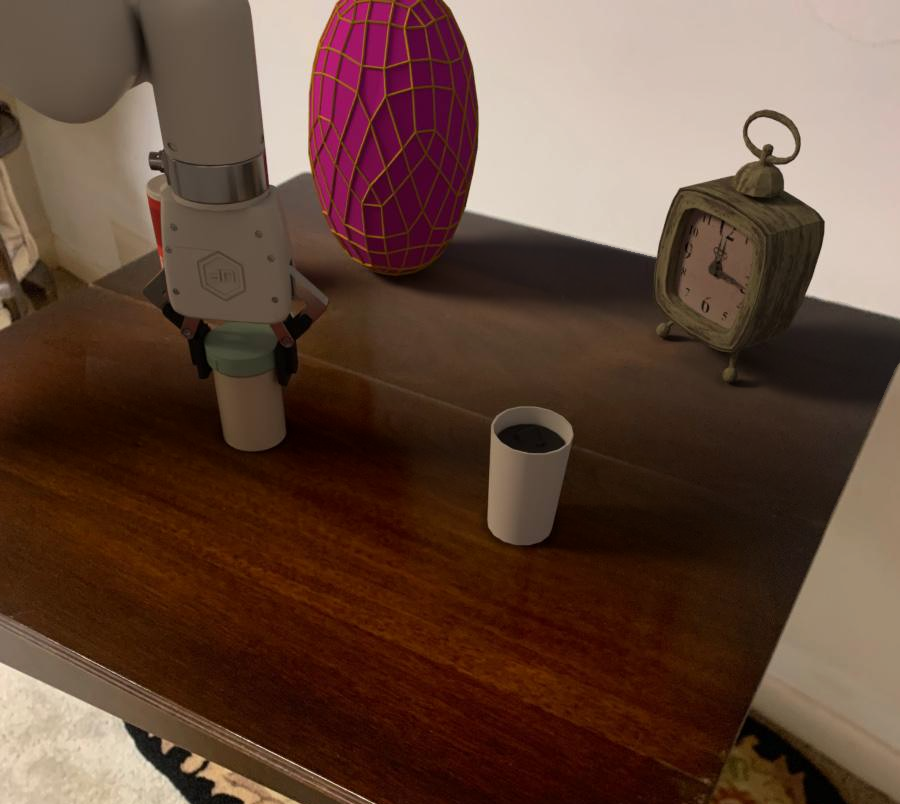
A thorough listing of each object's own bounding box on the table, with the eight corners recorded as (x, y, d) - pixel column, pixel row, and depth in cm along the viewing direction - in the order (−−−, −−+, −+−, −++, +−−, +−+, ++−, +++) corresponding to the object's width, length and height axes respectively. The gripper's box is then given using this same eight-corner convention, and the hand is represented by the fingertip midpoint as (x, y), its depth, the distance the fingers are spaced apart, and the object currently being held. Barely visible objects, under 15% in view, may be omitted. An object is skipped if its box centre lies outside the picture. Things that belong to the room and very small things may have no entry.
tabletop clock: (639, 333, 102) (691, 95, 84) (696, 315, 106) (758, 83, 88) (728, 395, 94) (807, 146, 76) (787, 373, 98) (875, 130, 80)
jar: (216, 448, 84) (200, 361, 77) (232, 412, 88) (218, 326, 81) (279, 454, 84) (268, 366, 77) (291, 417, 88) (283, 331, 81)
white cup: (473, 503, 80) (481, 410, 73) (544, 495, 81) (558, 402, 74) (493, 553, 75) (503, 459, 68) (567, 543, 77) (585, 449, 70)
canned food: (225, 294, 104) (211, 199, 96) (157, 291, 104) (137, 196, 96) (236, 264, 110) (223, 172, 102) (170, 261, 109) (153, 169, 101)
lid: (244, 385, 77) (242, 368, 75) (190, 359, 79) (187, 342, 78) (297, 353, 81) (295, 336, 79) (243, 329, 83) (241, 313, 82)
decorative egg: (316, 233, 117) (297, -43, 95) (461, 232, 119) (476, -38, 97) (315, 304, 104) (294, 3, 82) (479, 302, 106) (500, 8, 84)
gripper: (90, 183, 66) (140, 389, 79) (320, 201, 65) (333, 406, 78) (124, 146, 71) (166, 346, 84) (338, 163, 71) (347, 361, 84)
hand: (247, 373), depth 81 cm, fingers closed on lid, 6 cm apart
